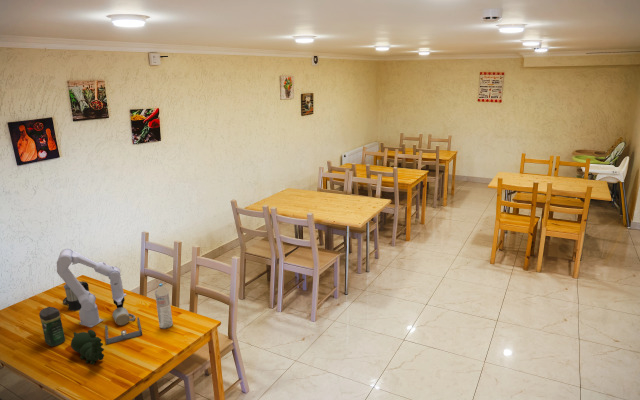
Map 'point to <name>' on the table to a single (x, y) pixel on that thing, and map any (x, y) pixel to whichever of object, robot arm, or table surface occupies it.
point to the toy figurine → (88, 346)
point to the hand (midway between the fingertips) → (120, 310)
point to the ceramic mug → (122, 316)
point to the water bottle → (163, 307)
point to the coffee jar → (52, 326)
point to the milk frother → (73, 297)
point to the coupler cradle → (123, 334)
